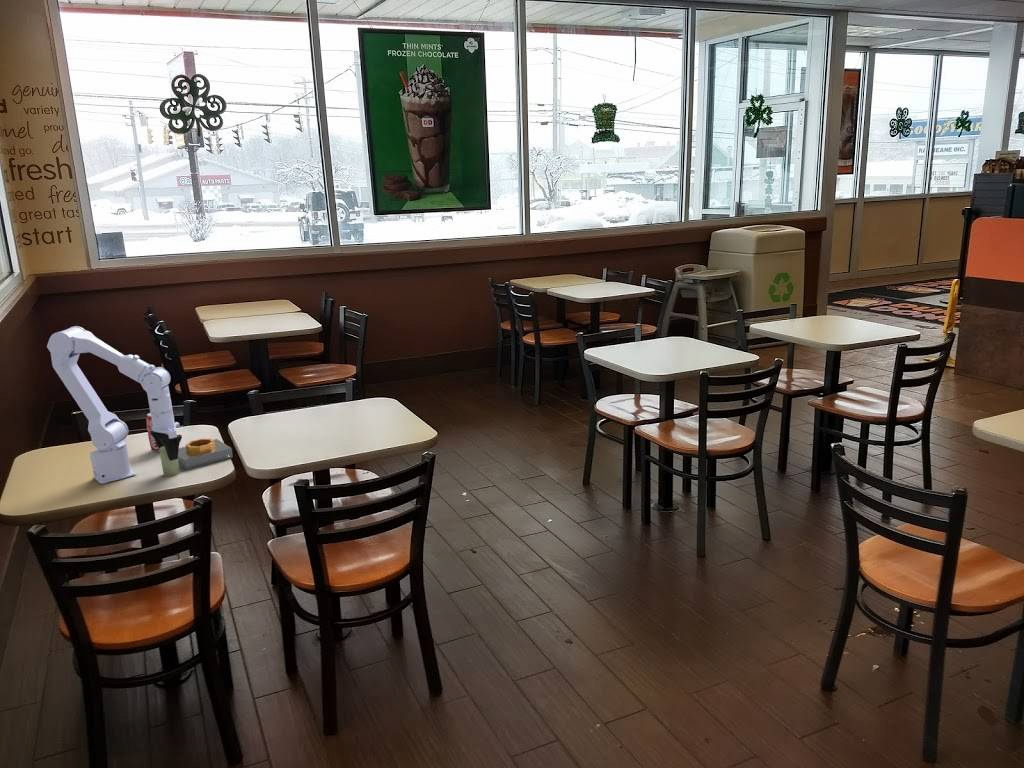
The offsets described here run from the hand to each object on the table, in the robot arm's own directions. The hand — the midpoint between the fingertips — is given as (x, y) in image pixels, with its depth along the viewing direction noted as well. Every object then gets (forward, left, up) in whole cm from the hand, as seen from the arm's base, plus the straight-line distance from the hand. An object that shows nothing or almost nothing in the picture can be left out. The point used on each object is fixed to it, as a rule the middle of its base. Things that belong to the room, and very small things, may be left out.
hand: (169, 456), depth 224 cm
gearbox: (+11, +8, -5) cm, 14 cm away
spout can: (0, 0, -5) cm, 5 cm away
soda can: (+5, +24, -6) cm, 25 cm away
